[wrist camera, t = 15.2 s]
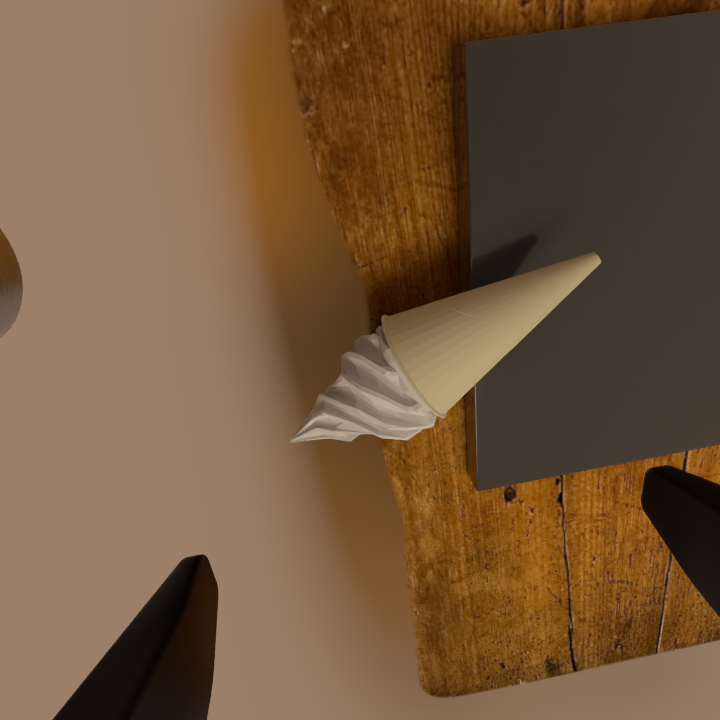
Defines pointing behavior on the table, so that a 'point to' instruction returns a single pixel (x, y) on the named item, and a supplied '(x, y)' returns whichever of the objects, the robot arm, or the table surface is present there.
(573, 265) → the ice cream cone
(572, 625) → the table surface
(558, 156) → the serving board
